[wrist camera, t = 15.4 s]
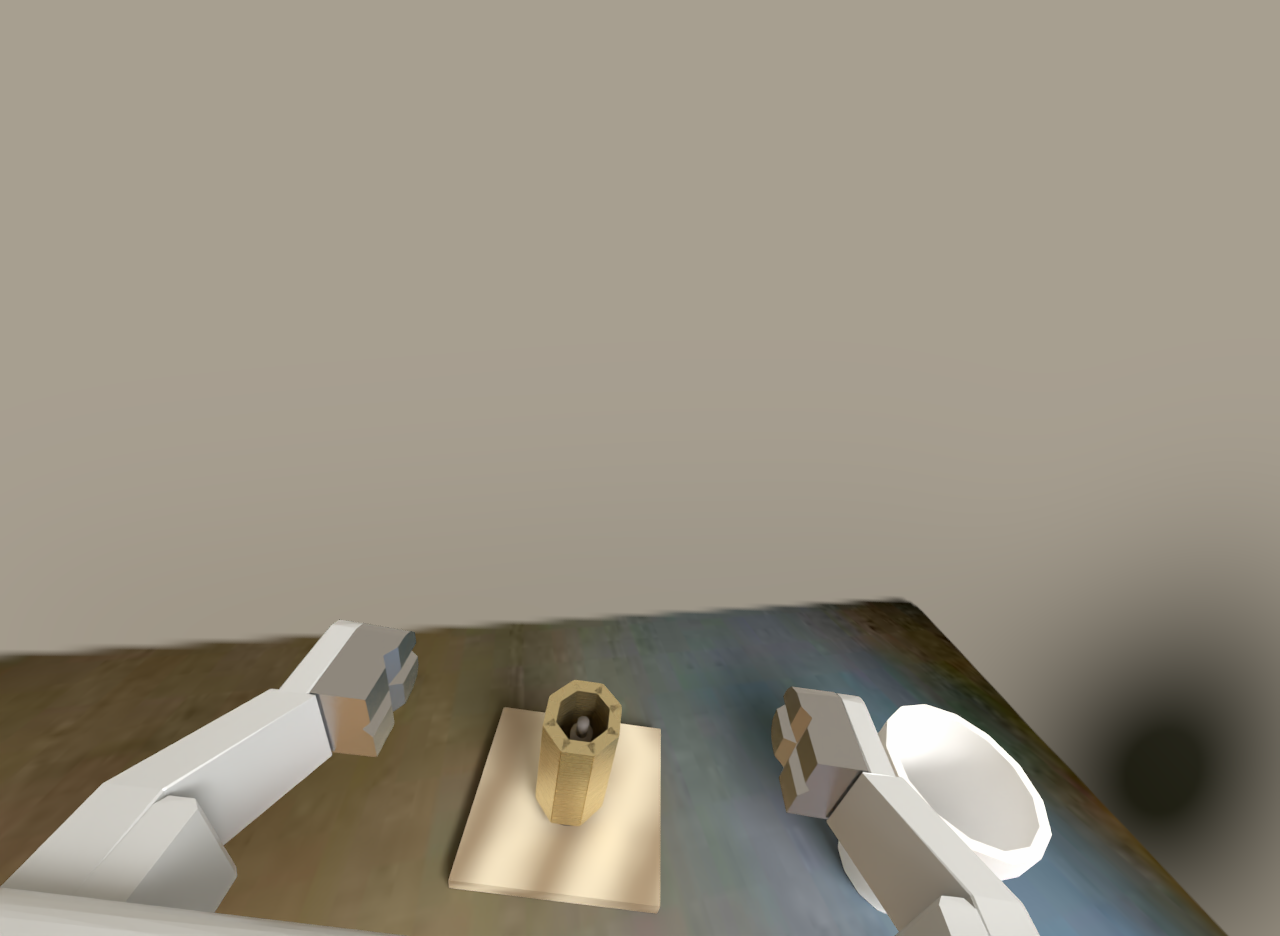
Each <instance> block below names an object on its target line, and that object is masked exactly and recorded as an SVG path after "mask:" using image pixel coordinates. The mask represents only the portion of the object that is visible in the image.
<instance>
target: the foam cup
mask: <svg viewBox="0 0 1280 936" xmlns="http://www.w3.org/2000/svg"><path fill="white" fill-rule="evenodd" d="M878 736H879V738H880V741H881V743H882V745H883V748H884V750H885V752H886V755H887V757H888V759H889V762H890V764H891V766H892V769H893V771H894V774H895V776H897V777H902V778H904V779H905V780H906V782H907V783H908V784H909V785H910V786H911V787H912V788H913V789H914V790H915V791H916V792H917V793H918V794H919V795H920V796H921V797H922V798H923V799H924V800H925V801H926V803H927V804H928V805H929V806H930V807H931V808H932V809H933V810H934V811H935V812H936V813H937V814H938V815H939V816H940V817H941V818H942V819H943V820H944V821H945V822H946V824H947V825H948V826H949V827H950V828H951V829H952V830H953V831H954V832H955V833H956V834H957V835H958V836H959V837H960V838H961V839H962V840H963V841H964V842H965V843H966V845H967V846H968V847H969V848H970V849H971V850H972V851H973V852H974V853H975V854H976V855H977V856H978V857H979V858H980V859H981V860H982V861H983V862H984V863H985V864H986V866H987V867H988V868H989V869H990V870H991V871H992V872H993V873H994V874H995V875H996V876H997V877H998V878H999V879H1000V880H1006V879H1011V878H1015V877H1019V876H1020V875H1021V874H1023V873H1024V872H1025V871H1027V870H1028V869H1029V868H1030V867H1032V866H1033V865H1034V864H1036V863H1037V862H1038V861H1039V860H1041V859H1042V857H1043V854H1044V852H1045V850H1046V847H1047V845H1048V843H1049V840H1050V838H1051V836H1052V833H1051V830H1050V826H1049V822H1048V818H1047V814H1046V810H1045V806H1044V802H1043V800H1042V798H1041V797H1040V795H1039V794H1038V792H1037V791H1036V789H1035V788H1034V786H1033V785H1032V783H1031V782H1030V780H1029V779H1028V777H1027V775H1026V774H1025V772H1024V771H1023V769H1022V768H1021V766H1020V765H1019V764H1018V763H1017V762H1016V761H1015V760H1014V759H1013V758H1012V757H1011V756H1010V755H1009V754H1008V753H1007V752H1006V751H1005V750H1004V749H1003V748H1002V747H1000V746H999V745H998V744H997V743H996V742H995V741H994V740H993V739H992V738H991V737H990V736H989V735H988V734H986V733H985V732H983V731H981V730H980V729H978V728H977V727H975V726H974V725H972V724H970V723H969V722H967V721H966V720H964V719H963V718H961V717H960V716H958V715H956V714H954V713H951V712H948V711H945V710H942V709H939V708H935V707H932V706H929V705H926V704H922V705H911V706H901V707H900V708H899V709H898V710H897V711H896V712H895V713H894V714H893V715H892V716H891V717H890V718H889V719H888V720H887V722H886V723H885V724H884V726H883V727H882V729H881V730H880V732H879V733H878ZM838 850H839V854H840V857H841V861H842V865H843V868H844V871H845V872H846V874H847V876H848V877H849V879H850V880H851V882H852V884H853V885H854V887H855V889H856V890H857V892H858V893H859V894H860V895H861V896H862V897H863V898H865V899H866V900H867V901H868V902H869V903H870V904H871V905H872V906H873V907H874V908H875V909H877V910H878V911H881V912H883V913H886V911H885V910H884V908H883V907H882V905H881V904H880V902H879V901H878V899H877V898H876V896H875V895H874V893H873V892H872V890H871V889H870V887H869V886H868V884H867V883H866V881H865V879H864V878H863V876H862V875H861V873H860V872H859V870H858V869H857V867H856V866H855V864H854V863H853V861H852V860H851V858H850V857H849V855H848V854H847V852H846V851H845V849H844V848H843V846H842V845H841V843H840V842H839V841H838ZM886 914H887V913H886Z"/></svg>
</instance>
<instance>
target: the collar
mask: <svg viewBox="0 0 1280 936" xmlns="http://www.w3.org/2000/svg"><path fill="white" fill-rule="evenodd" d="M621 711H622V706H621V704H620V703H619V702H618V701H617V700H616V698H615V697H614V696H613V695H612V694H611V693H610V691H609V690H608V689H607V688H606V687H605V685H604V684H600V683H593V682H586V681H579V680H575V681H574V680H573V681H572V682H570V683H569V684H567V685H566V686H564V687H562V688H561V689H559V690H558V691H556V692H555V693H553V694H551V695H550V696H549V700H548V705H547V709H546V713H545V717H544V722H543V728H542V737H541V747H540V757H539V766H538V776H537V786H536V795H535V797H536V799H537V801H538V803H539V804H540V806H541V808H542V809H543V811H544V813H545V814H546V816H547V818H548V819H549V821H550V822H551V823H555V824H563V825H570V826H578V827H579V826H581V825H582V824H583V823H584V822H585V821H587V820H588V819H589V818H590V817H591V816H592V815H593V814H594V813H595V812H597V811H598V810H599V809H600V808H601V807H602V805H603V801H604V797H605V793H606V789H607V785H608V781H609V776H610V772H611V768H612V764H613V760H614V756H615V752H616V748H617V744H618V740H619V735H620V723H621ZM581 716H586V717H587V718H588V719H589V725H590V726H591V728H592V731H593V734H592V739H591V742H584V741H576V740H569V739H570V733H571V729H572V727H573V725H574V724H576V723H577V722H578V719H579V718H580V717H581Z"/></svg>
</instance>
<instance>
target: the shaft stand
mask: <svg viewBox="0 0 1280 936" xmlns="http://www.w3.org/2000/svg"><path fill="white" fill-rule="evenodd" d="M544 717H545V713H543V712H536V711H529V710H522V709H515V708H508V707H504V709H503V712H502V715H501V718H500V721H499V724H498V727H497V730H496V733H495V737H494V740H493V743H492V746H491V749H490V752H489V755H488V758H487V761H486V764H485V768H484V771H483V774H482V777H481V780H480V783H479V786H478V789H477V792H476V796H475V799H474V802H473V805H472V808H471V811H470V814H469V817H468V820H467V824H466V827H465V830H464V833H463V836H462V839H461V842H460V845H459V848H458V851H457V855H456V858H455V861H454V864H453V867H452V870H451V873H450V876H449V879H448V882H449V888H454V889H462V890H471V891H479V892H487V893H495V894H503V895H511V896H519V897H527V898H535V899H543V900H551V901H559V902H567V903H575V904H583V905H592V906H600V907H608V908H616V909H624V910H632V911H640V912H648V913H656V914H657V912H658V910H659V908H660V774H661V729H656V728H649V727H642V726H635V725H628V724H621V723H620V735H619V740H618V744H617V748H616V752H615V756H614V760H613V764H612V768H611V772H610V776H609V781H608V785H607V789H606V793H605V797H604V801H603V805H602V807H601V808H600V809H599V810H598V811H597V812H595V813H594V814H593V815H592V816H591V817H590V818H589V819H588V820H587V821H585V822H584V823H583V824H582V825H581V826H579V827H578V826H570V825H563V824H555V823H551V822H550V821H549V819H548V818H547V816H546V814H545V813H544V811H543V809H542V808H541V806H540V804H539V803H538V801H537V799H536V797H535V795H536V786H537V776H538V766H539V757H540V747H541V737H542V728H543V722H544ZM592 734H593V731H592V728H591V726H590V725H589V719H588V718H587V717H586V716H581V717H580V718H579V719H578V722H577V723H576V724H574V725H573V727H572V729H571V733H570V739H569V740H576V741H584V742H591V739H592Z"/></svg>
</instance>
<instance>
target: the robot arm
mask: <svg viewBox="0 0 1280 936" xmlns="http://www.w3.org/2000/svg"><path fill="white" fill-rule="evenodd" d="M415 644H416V638H415V632H412V631H406V630H400V629H395V628H389V627H383V626H377V625H371V624H366V623H360V622H353V621H347V620H340V619H339V620H338V621H337V622H335V623H334V624H332V625H331V626H330V627H329V628H328V629H327V631H326V632H325V633H324V634H323V635H322V637H321V638H320V639H319V640H318V642H317V643H316V644H315V645H314V647H313V648H312V649H311V650H310V651H309V653H308V654H307V655H306V656H305V658H304V659H303V660H302V661H301V663H300V664H299V665H298V666H297V667H296V669H295V670H294V671H293V672H292V674H291V675H290V676H289V677H288V678H287V680H286V681H285V682H284V683H283V685H282V686H281V687H280V688H279V689H269V690H267V691H266V692H264V693H262V694H260V695H258V696H257V697H255V698H253V699H251V700H250V701H248V702H246V703H244V704H243V705H241V706H239V707H237V708H235V709H234V710H232V711H230V712H228V713H227V714H225V715H223V716H221V717H219V718H218V719H216V720H214V721H212V722H211V723H209V724H207V725H205V726H204V727H202V728H200V729H198V730H196V731H195V732H193V733H191V734H189V735H188V736H186V737H184V738H182V739H180V740H179V741H177V742H175V743H173V744H172V745H170V746H168V747H166V748H164V749H163V750H161V751H159V752H157V753H156V754H154V755H152V756H150V757H149V758H147V759H145V760H143V761H141V762H140V763H138V764H136V765H134V766H133V767H131V768H129V769H127V770H125V771H124V772H122V773H120V774H118V775H117V776H115V777H113V778H111V779H109V780H108V781H106V782H104V783H103V784H102V785H101V786H100V787H99V788H98V789H97V790H96V791H95V792H94V793H93V794H92V795H91V796H90V797H89V798H88V799H87V800H86V801H85V802H84V803H83V804H82V805H81V806H80V807H79V808H78V809H77V810H76V811H75V812H74V813H73V814H72V815H71V816H70V817H69V818H68V819H67V820H66V821H65V822H64V823H63V824H62V825H61V826H60V827H59V828H58V829H57V830H56V831H55V832H54V833H53V834H52V835H51V836H50V837H49V838H48V839H47V840H46V841H45V842H44V843H43V844H42V845H41V846H40V847H39V848H38V849H37V850H36V851H35V852H34V853H33V854H32V855H31V856H30V857H29V858H28V859H27V860H26V861H25V862H24V863H23V864H22V865H21V866H20V867H19V868H18V869H17V870H16V871H15V872H14V873H13V874H12V875H11V876H10V877H9V878H8V879H7V881H6V882H5V883H4V884H3V885H2V886H1V887H0V936H405V935H396V934H388V933H379V932H371V931H363V930H354V929H346V928H337V927H329V926H321V925H312V924H304V923H295V922H287V921H279V920H270V919H262V918H254V917H245V916H237V915H228V914H220V913H215V911H216V909H217V908H218V906H219V905H220V903H221V901H222V900H223V898H224V897H225V895H226V893H227V892H228V890H229V889H230V887H231V885H232V884H233V882H234V881H235V879H236V878H237V869H236V865H235V864H234V862H233V860H232V859H231V857H230V855H229V854H228V852H227V850H226V849H225V847H224V844H226V843H227V842H228V841H229V840H230V839H232V838H233V837H234V836H235V835H237V834H238V833H239V832H240V831H241V830H243V829H244V828H245V827H246V826H247V825H249V824H250V823H251V822H252V821H253V820H255V819H256V818H257V817H258V816H259V815H261V814H262V813H263V812H264V811H266V810H267V809H268V808H269V807H270V806H272V805H273V804H274V803H275V802H276V801H278V800H279V799H280V798H281V797H282V796H284V795H285V794H286V793H287V792H288V791H290V790H291V789H292V788H293V787H294V786H296V785H297V784H298V783H299V782H301V781H302V780H303V779H304V778H305V777H307V776H308V775H309V774H310V773H311V772H313V771H314V770H315V769H316V768H317V767H319V766H320V765H321V764H322V763H323V762H325V761H326V760H327V759H328V758H329V757H331V756H332V752H334V753H344V754H353V755H363V756H372V757H377V756H378V754H379V752H380V750H381V748H382V746H383V744H384V743H385V741H386V739H387V737H388V735H389V733H390V731H391V729H392V728H393V726H394V717H393V711H395V710H396V709H398V708H399V707H401V706H402V705H403V704H405V703H406V701H407V699H408V697H409V695H410V693H411V691H412V689H413V686H414V683H415V680H416V677H417V671H418V657H417V656H416V655H415V653H414V652H413V651H412V649H413V647H414V646H415ZM783 697H784V701H785V705H784V706H782V707H780V708H778V709H777V710H776V712H775V715H774V717H773V720H772V728H771V737H772V746H773V751H774V755H775V757H776V758H777V759H778V760H779V762H780V763H781V764H782V766H783V767H784V768H783V770H782V772H781V774H780V776H779V780H780V785H781V789H782V794H783V799H784V803H785V808H786V812H787V813H792V814H798V815H804V816H810V817H816V818H822V819H828V820H827V821H826V822H827V824H828V825H829V827H830V828H831V830H832V831H833V833H834V834H835V836H836V837H837V839H838V840H839V842H840V843H841V845H842V846H843V848H844V849H845V851H846V852H847V854H848V855H849V857H850V858H851V860H852V861H853V863H854V864H855V866H856V867H857V869H858V870H859V872H860V873H861V875H862V876H863V878H864V879H865V881H866V883H867V884H868V886H869V887H870V889H871V890H872V892H873V893H874V895H875V896H876V898H877V899H878V901H879V902H880V904H881V905H882V907H883V908H884V910H885V911H886V913H887V914H888V916H889V917H890V919H891V920H892V922H893V923H894V925H895V926H896V928H897V929H898V931H899V932H898V933H897V934H896V935H895V936H1040V935H1039V933H1038V931H1037V929H1036V928H1035V926H1034V924H1033V922H1032V920H1031V918H1030V916H1029V914H1028V912H1027V910H1026V908H1025V907H1024V905H1023V903H1022V902H1021V901H1020V900H1019V899H1018V898H1017V897H1016V896H1015V895H1014V894H1013V893H1012V892H1011V891H1010V890H1009V889H1008V888H1007V887H1006V885H1005V884H1004V883H1003V882H1002V881H1001V880H1000V879H999V878H998V877H997V876H996V875H995V874H994V873H993V872H992V871H991V870H990V869H989V868H988V867H987V866H986V864H985V863H984V862H983V861H982V860H981V859H980V858H979V857H978V856H977V855H976V854H975V853H974V852H973V851H972V850H971V849H970V848H969V847H968V846H967V845H966V843H965V842H964V841H963V840H962V839H961V838H960V837H959V836H958V835H957V834H956V833H955V832H954V831H953V830H952V829H951V828H950V827H949V826H948V825H947V824H946V822H945V821H944V820H943V819H942V818H941V817H940V816H939V815H938V814H937V813H936V812H935V811H934V810H933V809H932V808H931V807H930V806H929V805H928V804H927V803H926V801H925V800H924V799H923V798H922V797H921V796H920V795H919V794H918V793H917V792H916V791H915V790H914V789H913V788H912V787H911V786H910V785H909V784H908V783H907V782H906V780H905V779H904V778H902V777H897V776H895V774H894V771H893V769H892V766H891V764H890V762H889V759H888V757H887V755H886V752H885V750H884V748H883V745H882V743H881V741H880V738H879V736H878V734H877V731H876V729H875V726H874V724H873V722H872V719H871V717H870V715H869V712H868V710H867V708H866V705H865V703H864V701H863V700H862V699H861V698H860V697H858V696H853V695H845V694H838V693H834V692H828V691H821V690H813V689H805V688H798V687H790V688H789V689H787V691H786V692H785V694H784V696H783Z"/></svg>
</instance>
